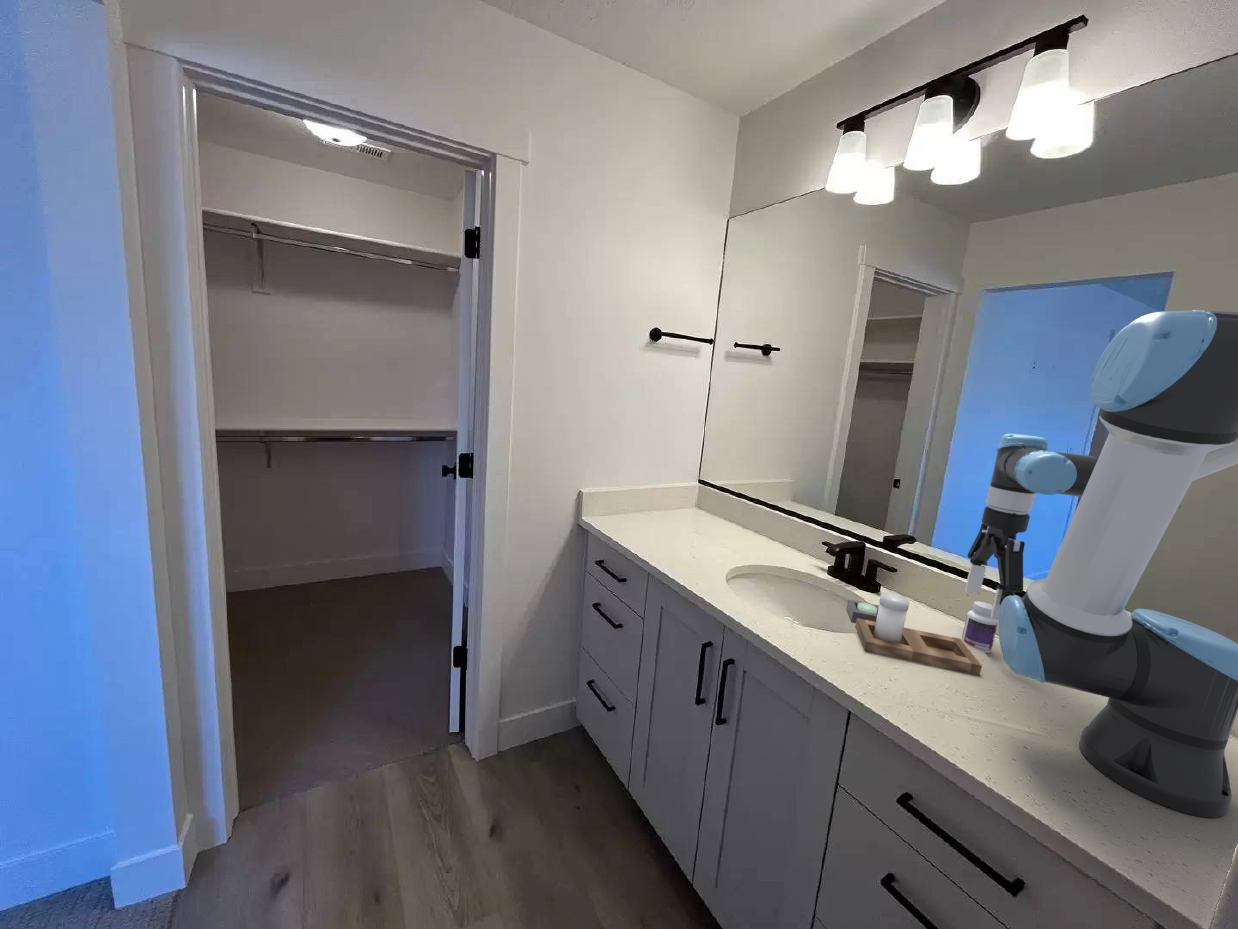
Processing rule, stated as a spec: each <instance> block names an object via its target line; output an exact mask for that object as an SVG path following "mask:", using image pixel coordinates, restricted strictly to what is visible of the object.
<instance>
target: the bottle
mask: <svg viewBox="0 0 1238 929" xmlns="http://www.w3.org/2000/svg"><path fill="white" fill-rule="evenodd" d="M909 606H910V600H909V599H908V598H906V597H905V596H902V595H900V594H897V593H893V592H882V593H880V596H879V609H878V614H877V619H876V625H875V630H874V635H873V638H874V639H879V640H884V641H889V642H894V643H899V644H901V639H902V634H903V629H904V628H905V624H906V619H907V612H908V610H909Z"/></svg>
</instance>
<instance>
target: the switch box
mask: <svg viewBox="0 0 1238 929" xmlns="http://www.w3.org/2000/svg"><path fill="white" fill-rule="evenodd" d="M858 603H865V602H863V601H858V600H853V599H847V604H846V609H845V610H846V613H847V615H848V618H849V620H850V622H851V623H852V624H856V620H857V618H859V619H864V620H869V621H874V622H876V619H877V614H878V609H879V605H878V604H873V603H868V602H867V603H868V604H871V605H873V606H875V607H876V608H877V613H876V614H872V613H867V612H862V611H858V610H857V606H858Z"/></svg>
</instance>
